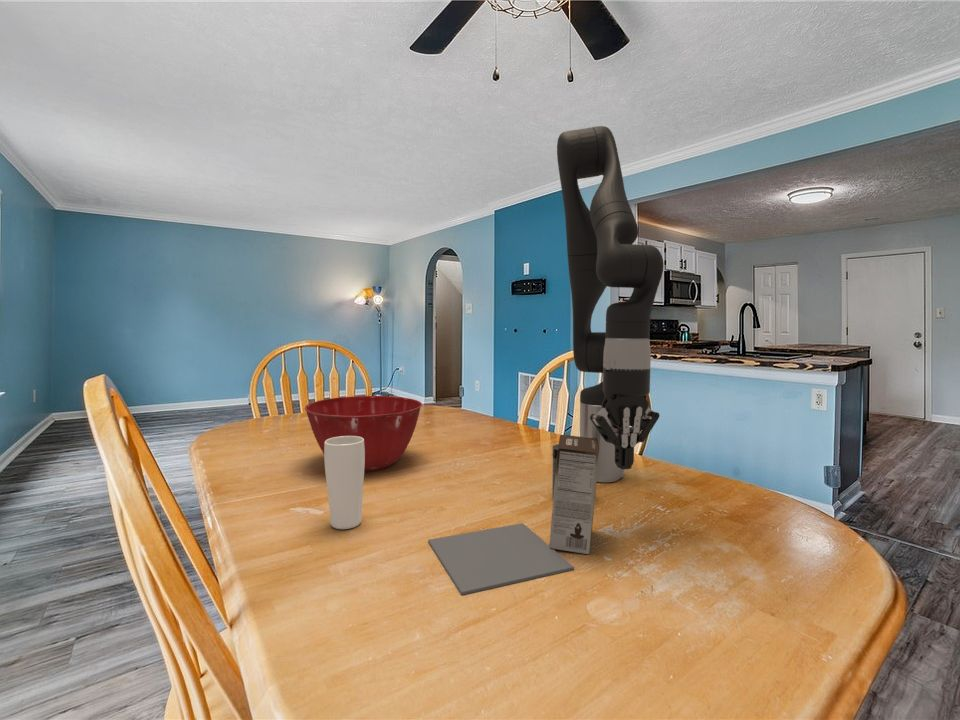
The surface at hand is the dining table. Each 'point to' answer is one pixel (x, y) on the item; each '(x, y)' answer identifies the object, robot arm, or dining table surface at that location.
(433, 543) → the slate mat
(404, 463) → the dining table surface
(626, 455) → the robot arm
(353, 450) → the drinking glass
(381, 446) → the mixing bowl
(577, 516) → the coffee box
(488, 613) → the dining table surface
